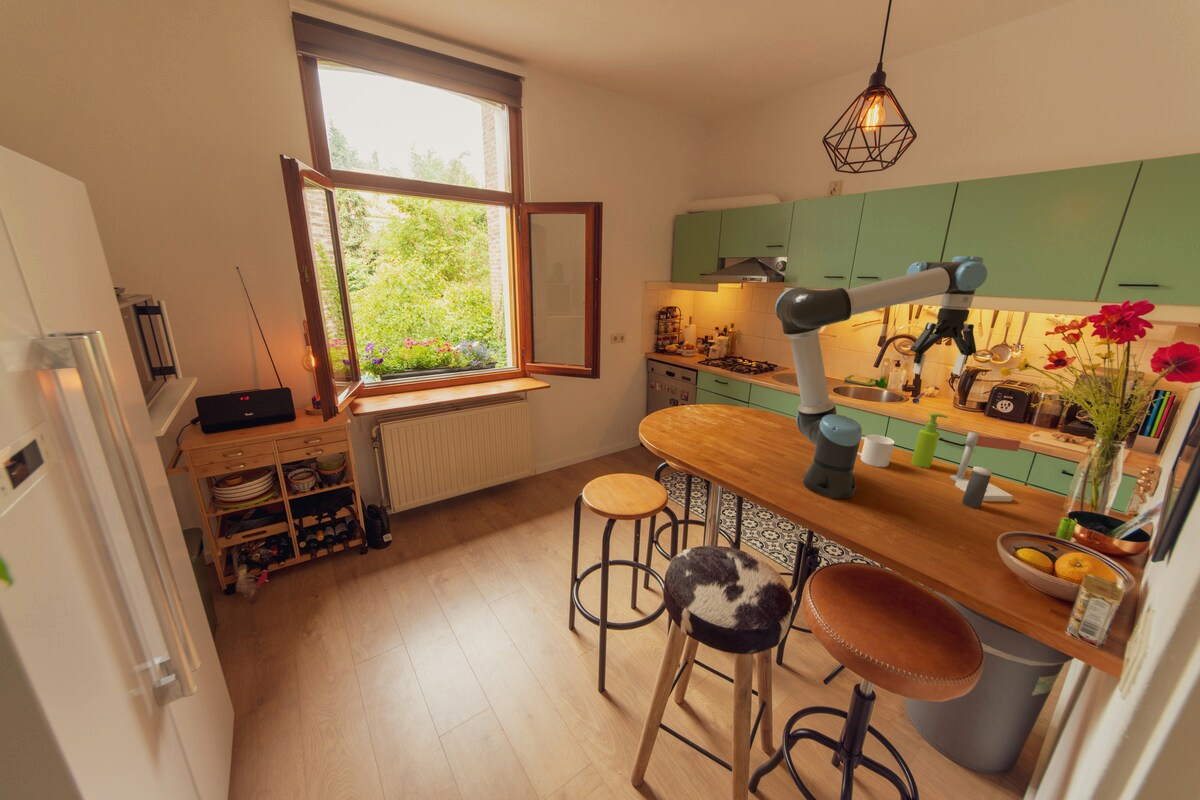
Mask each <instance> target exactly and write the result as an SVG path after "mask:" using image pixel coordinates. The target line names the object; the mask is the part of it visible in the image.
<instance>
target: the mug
mask: <svg viewBox="0 0 1200 800" xmlns="http://www.w3.org/2000/svg"><path fill="white" fill-rule="evenodd" d="M861 440H864V441H863V447H862V449H861V450H862V451H861V452H860V451H858V452H857V456H860V461H861V462H862V463H864V464H866V465H869V466H872V467H876V468H887V467H888V466H889V465H890V461H891V457H892V452H893V450H894V445H895V441H894V440H893V438H889V437H887V436H883V435H880V434H867V435H865V436H861Z"/></svg>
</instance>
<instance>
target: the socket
mask: <svg viewBox="0 0 1200 800" xmlns="http://www.w3.org/2000/svg"><path fill="white" fill-rule="evenodd" d="M974 448H975V446H969V445H966V444H965V448H964V450H963V454H962V457H961V460H960V464H959V466H958V471H957V472H956V474H951V475H950V479H951V480H953V481H955V484H954V486H955V487H956V488H958V489H959V488H960V489H959V490H961V491H963V492H964V491H966V488H967V485H968V482H969V479H968V478H967V477H965V475H966V472H967V470H968V465H969V462H970V460H971V457H972V454H973V450H974ZM1013 498H1014V495H1013V494H1010V493H1008V492H1006V491H1005V490H1003V489H1001V488H999V487H997V486H996V485H994V484H992V483H991V482H989V483H988V486H987V489H986V492H985V495H984V498H983V501H982V502H1006V503H1008V502H1012V500H1013Z"/></svg>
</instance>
